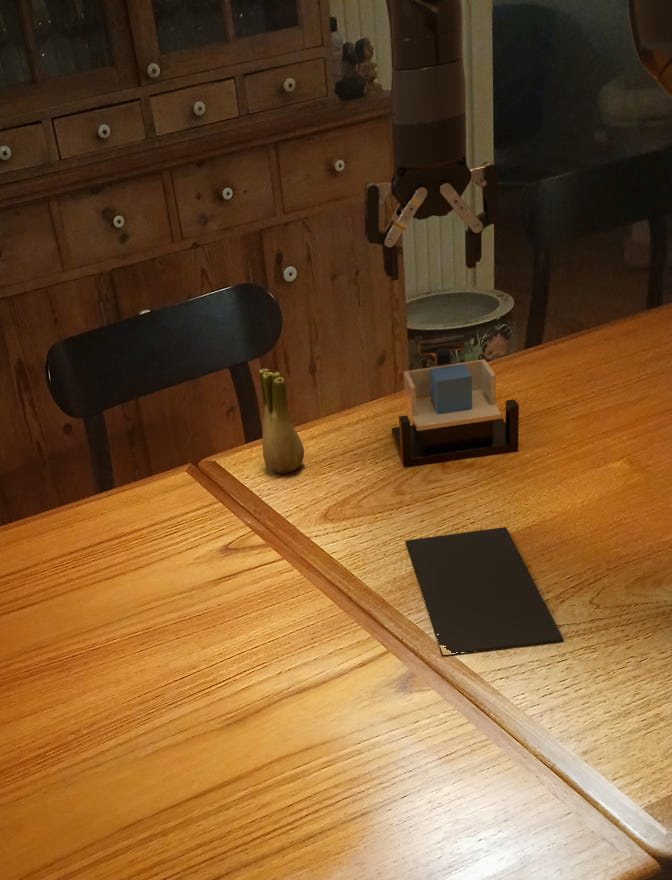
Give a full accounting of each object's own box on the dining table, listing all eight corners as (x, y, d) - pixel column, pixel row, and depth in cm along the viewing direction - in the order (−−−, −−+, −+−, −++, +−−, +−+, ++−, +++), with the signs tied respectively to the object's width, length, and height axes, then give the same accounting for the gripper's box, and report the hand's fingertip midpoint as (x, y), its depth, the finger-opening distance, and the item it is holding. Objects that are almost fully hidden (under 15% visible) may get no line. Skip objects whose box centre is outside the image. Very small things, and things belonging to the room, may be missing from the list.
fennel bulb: (266, 460, 122) (253, 366, 115) (306, 455, 121) (295, 360, 114) (264, 480, 117) (250, 383, 111) (305, 476, 116) (294, 378, 110)
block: (465, 396, 116) (464, 364, 114) (472, 409, 113) (472, 375, 111) (430, 402, 117) (429, 369, 114) (437, 414, 113) (436, 381, 111)
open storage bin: (480, 385, 120) (480, 330, 116) (501, 418, 111) (502, 360, 107) (402, 397, 121) (399, 343, 117) (416, 431, 112) (414, 373, 108)
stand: (498, 419, 120) (499, 376, 117) (518, 451, 112) (519, 405, 109) (391, 435, 122) (389, 392, 119) (403, 467, 114) (401, 422, 111)
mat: (505, 529, 99) (505, 526, 98) (563, 641, 82) (563, 638, 82) (405, 542, 100) (405, 540, 100) (442, 656, 83) (441, 653, 83)
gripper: (364, 130, 100) (373, 292, 109) (507, 104, 98) (504, 271, 107) (355, 121, 106) (365, 274, 115) (489, 96, 104) (489, 254, 113)
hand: (432, 272), depth 111 cm, fingers open, 8 cm apart
